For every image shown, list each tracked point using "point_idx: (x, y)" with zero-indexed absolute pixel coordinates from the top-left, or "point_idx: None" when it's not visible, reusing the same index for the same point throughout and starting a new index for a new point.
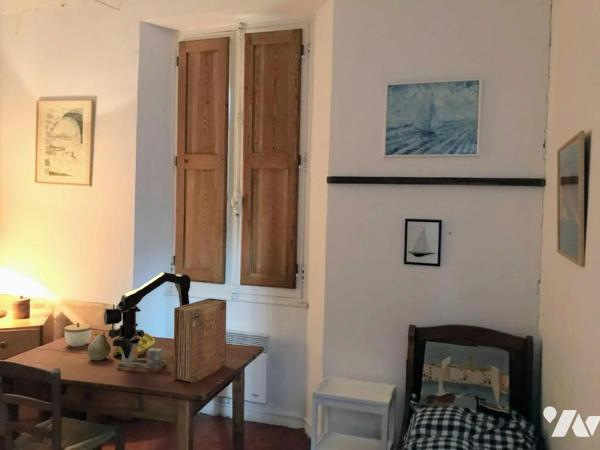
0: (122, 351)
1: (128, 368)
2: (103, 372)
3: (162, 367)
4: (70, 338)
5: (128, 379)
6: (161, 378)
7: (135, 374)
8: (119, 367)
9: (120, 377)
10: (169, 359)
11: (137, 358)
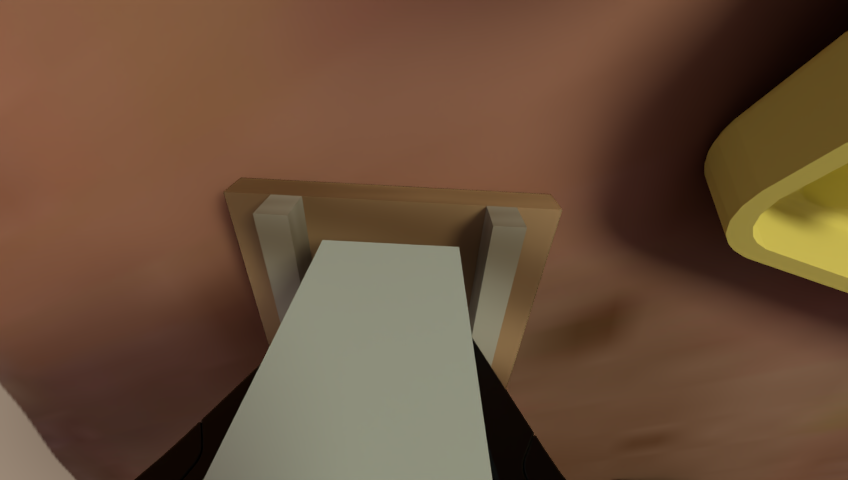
0: (261, 380)
1: (262, 309)
2: (69, 41)
3: None
4: None
5: (92, 355)
6: None
7: (217, 361)
8: (234, 226)
9: (82, 293)
10: (602, 438)
11: (496, 343)
